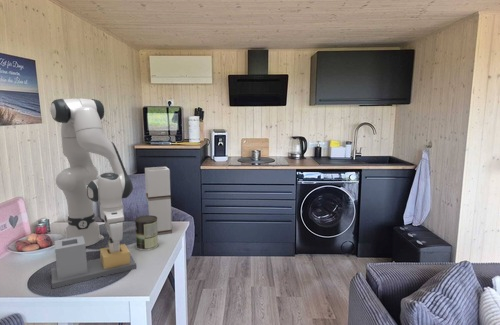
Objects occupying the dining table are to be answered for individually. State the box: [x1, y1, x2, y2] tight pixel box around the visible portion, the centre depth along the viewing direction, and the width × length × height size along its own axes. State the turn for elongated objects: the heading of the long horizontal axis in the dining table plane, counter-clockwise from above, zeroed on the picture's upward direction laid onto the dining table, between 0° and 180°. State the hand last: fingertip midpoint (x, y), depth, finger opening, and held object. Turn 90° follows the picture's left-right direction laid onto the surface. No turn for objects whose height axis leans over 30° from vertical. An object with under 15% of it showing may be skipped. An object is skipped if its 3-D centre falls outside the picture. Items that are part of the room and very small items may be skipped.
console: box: [50, 236, 137, 289], centre depth 132 cm, size 14×30×14 cm, turn 122°
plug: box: [107, 237, 121, 254], centre depth 136 cm, size 4×4×10 cm
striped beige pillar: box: [144, 166, 173, 236], centre depth 175 cm, size 11×11×35 cm
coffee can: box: [134, 214, 159, 251], centre depth 156 cm, size 10×10×14 cm
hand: (114, 244), depth 135 cm, fingers open, 8 cm apart
